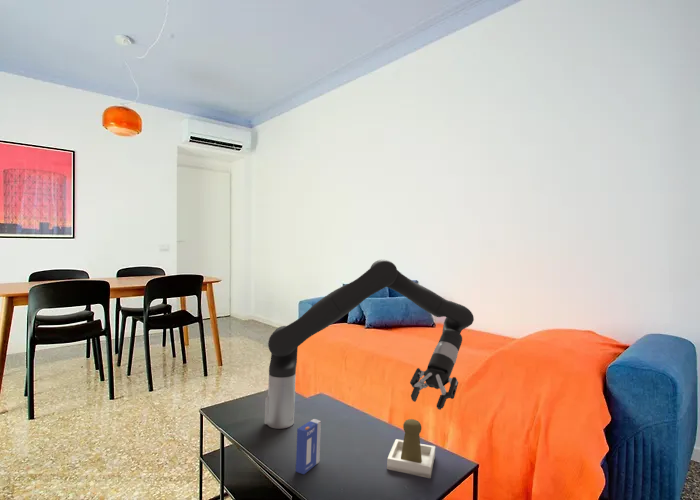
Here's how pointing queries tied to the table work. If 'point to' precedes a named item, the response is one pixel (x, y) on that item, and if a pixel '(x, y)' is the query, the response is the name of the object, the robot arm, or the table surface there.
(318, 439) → the walkman
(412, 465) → the tray
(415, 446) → the olive pepper mill
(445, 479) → the table surface
